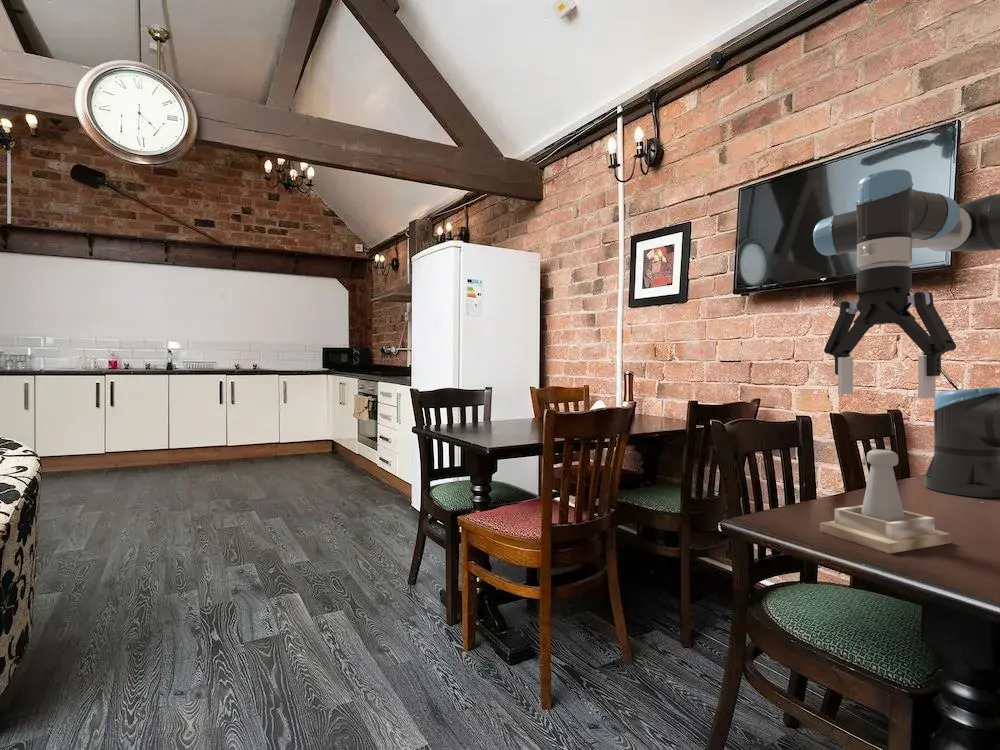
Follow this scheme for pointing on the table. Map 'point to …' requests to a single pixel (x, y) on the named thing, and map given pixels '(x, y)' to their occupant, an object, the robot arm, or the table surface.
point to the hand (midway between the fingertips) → (883, 395)
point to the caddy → (885, 530)
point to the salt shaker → (882, 487)
